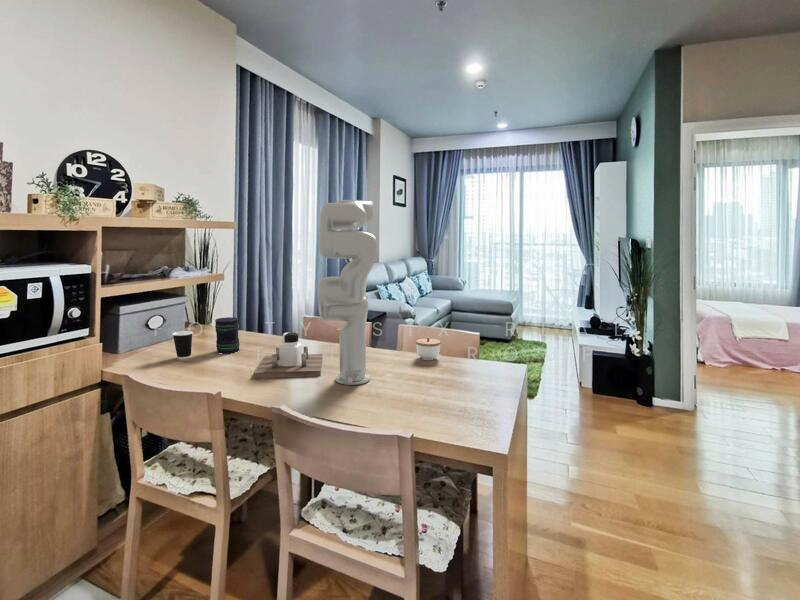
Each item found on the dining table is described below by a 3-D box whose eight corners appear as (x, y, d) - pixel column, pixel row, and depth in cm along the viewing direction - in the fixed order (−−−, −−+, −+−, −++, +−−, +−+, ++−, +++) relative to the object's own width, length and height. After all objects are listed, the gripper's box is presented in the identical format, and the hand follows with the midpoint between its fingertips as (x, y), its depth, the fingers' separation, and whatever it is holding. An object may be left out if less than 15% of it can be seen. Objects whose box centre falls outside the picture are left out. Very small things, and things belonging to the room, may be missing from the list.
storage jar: (217, 349, 196) (216, 317, 194) (240, 348, 199) (239, 316, 197) (215, 354, 187) (213, 321, 185) (239, 353, 189) (237, 320, 187)
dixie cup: (198, 356, 184) (197, 331, 182) (182, 361, 176) (181, 335, 175) (185, 354, 187) (184, 330, 185) (169, 359, 180) (167, 333, 178)
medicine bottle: (302, 360, 172) (302, 331, 170) (297, 365, 165) (296, 335, 163) (285, 359, 172) (284, 330, 171) (279, 364, 165) (278, 334, 164)
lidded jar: (413, 360, 180) (413, 339, 179) (418, 354, 191) (418, 334, 190) (438, 362, 178) (438, 340, 177) (441, 356, 188) (442, 335, 187)
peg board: (320, 375, 159) (320, 357, 158) (254, 378, 155) (253, 359, 154) (322, 358, 182) (322, 342, 181) (265, 360, 179) (264, 344, 178)
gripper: (360, 233, 161) (360, 278, 163) (358, 234, 178) (358, 274, 180) (340, 233, 160) (341, 278, 162) (340, 234, 177) (340, 274, 179)
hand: (350, 276), depth 171 cm, fingers open, 9 cm apart
